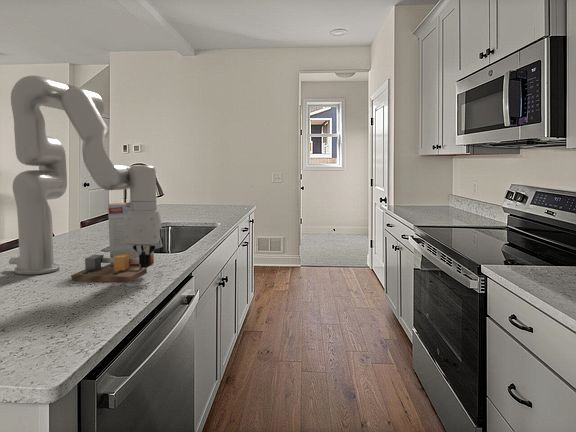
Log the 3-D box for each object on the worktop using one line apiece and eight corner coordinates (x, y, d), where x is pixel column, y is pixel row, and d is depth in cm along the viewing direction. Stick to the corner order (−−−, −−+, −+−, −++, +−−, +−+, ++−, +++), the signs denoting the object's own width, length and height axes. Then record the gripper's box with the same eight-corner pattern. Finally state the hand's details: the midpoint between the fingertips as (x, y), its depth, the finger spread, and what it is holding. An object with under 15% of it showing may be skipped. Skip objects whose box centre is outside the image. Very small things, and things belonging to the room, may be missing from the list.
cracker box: (151, 260, 170) (150, 201, 168) (154, 264, 164) (152, 203, 162) (109, 263, 165) (107, 202, 162) (110, 267, 159) (108, 204, 157)
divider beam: (76, 273, 142) (75, 260, 142) (91, 267, 151) (91, 254, 151) (132, 275, 141) (132, 261, 140) (144, 268, 150) (144, 255, 150)
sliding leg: (109, 273, 141) (108, 259, 141) (122, 266, 151) (121, 253, 150) (118, 273, 141) (118, 259, 141) (131, 266, 150) (131, 253, 150)
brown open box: (71, 280, 140) (71, 274, 140) (91, 271, 152) (90, 266, 152) (131, 281, 139) (131, 276, 139) (146, 272, 151) (146, 267, 151)
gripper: (113, 207, 141) (116, 269, 143) (163, 208, 140) (165, 270, 142) (124, 205, 148) (126, 264, 150) (171, 205, 147) (173, 264, 149)
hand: (145, 266), depth 146 cm, fingers closed
